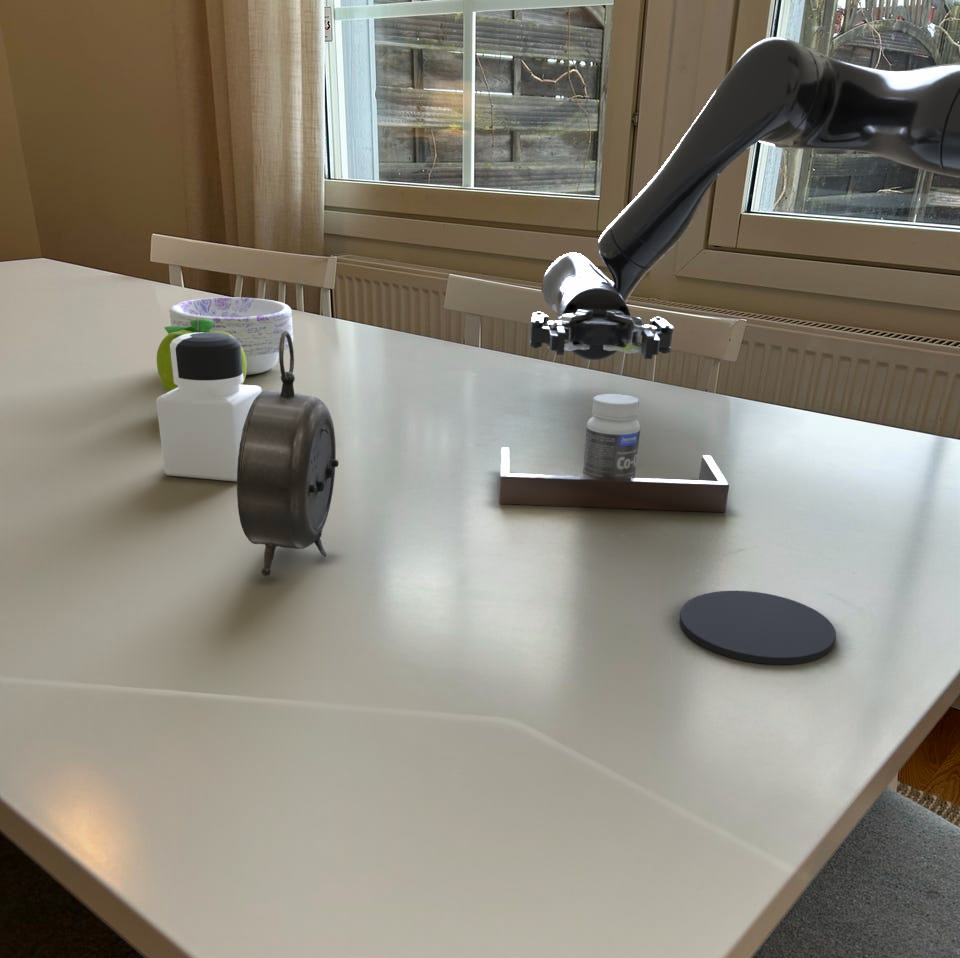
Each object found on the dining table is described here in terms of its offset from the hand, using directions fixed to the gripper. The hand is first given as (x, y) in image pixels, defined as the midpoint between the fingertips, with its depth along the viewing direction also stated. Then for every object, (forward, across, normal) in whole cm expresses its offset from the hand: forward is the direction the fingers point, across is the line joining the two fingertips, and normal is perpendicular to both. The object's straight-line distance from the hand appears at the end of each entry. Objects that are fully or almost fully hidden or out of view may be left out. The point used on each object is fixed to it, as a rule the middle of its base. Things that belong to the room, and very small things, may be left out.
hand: (605, 346), depth 94 cm
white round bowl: (-33, -45, +11) cm, 57 cm away
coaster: (+39, +8, +10) cm, 41 cm away
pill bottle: (+11, 0, +11) cm, 16 cm away
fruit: (-11, -42, +11) cm, 45 cm away
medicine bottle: (+9, -36, +11) cm, 39 cm away
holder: (+11, 0, +11) cm, 15 cm away
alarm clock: (+29, -25, +11) cm, 40 cm away
